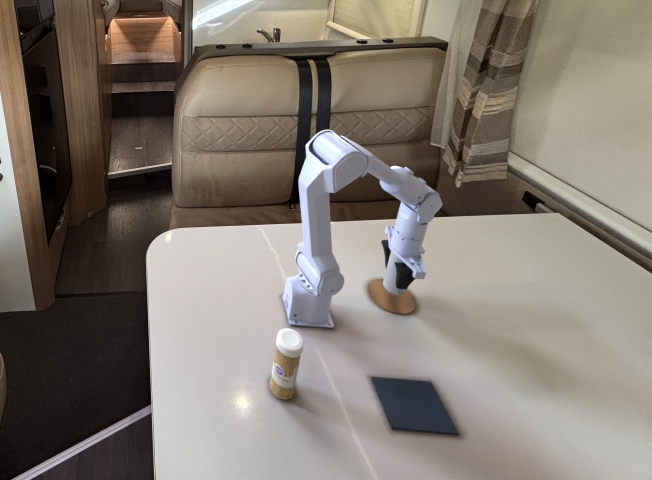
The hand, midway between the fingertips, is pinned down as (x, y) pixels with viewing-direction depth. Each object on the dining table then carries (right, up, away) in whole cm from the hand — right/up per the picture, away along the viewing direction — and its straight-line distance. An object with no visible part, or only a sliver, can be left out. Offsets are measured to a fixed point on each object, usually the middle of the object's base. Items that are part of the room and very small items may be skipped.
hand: (395, 278), depth 98 cm
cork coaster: (0, -5, +2) cm, 6 cm away
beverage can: (0, -3, +1) cm, 3 cm away
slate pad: (-9, -14, -20) cm, 27 cm away
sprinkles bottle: (-32, -14, -17) cm, 39 cm away
